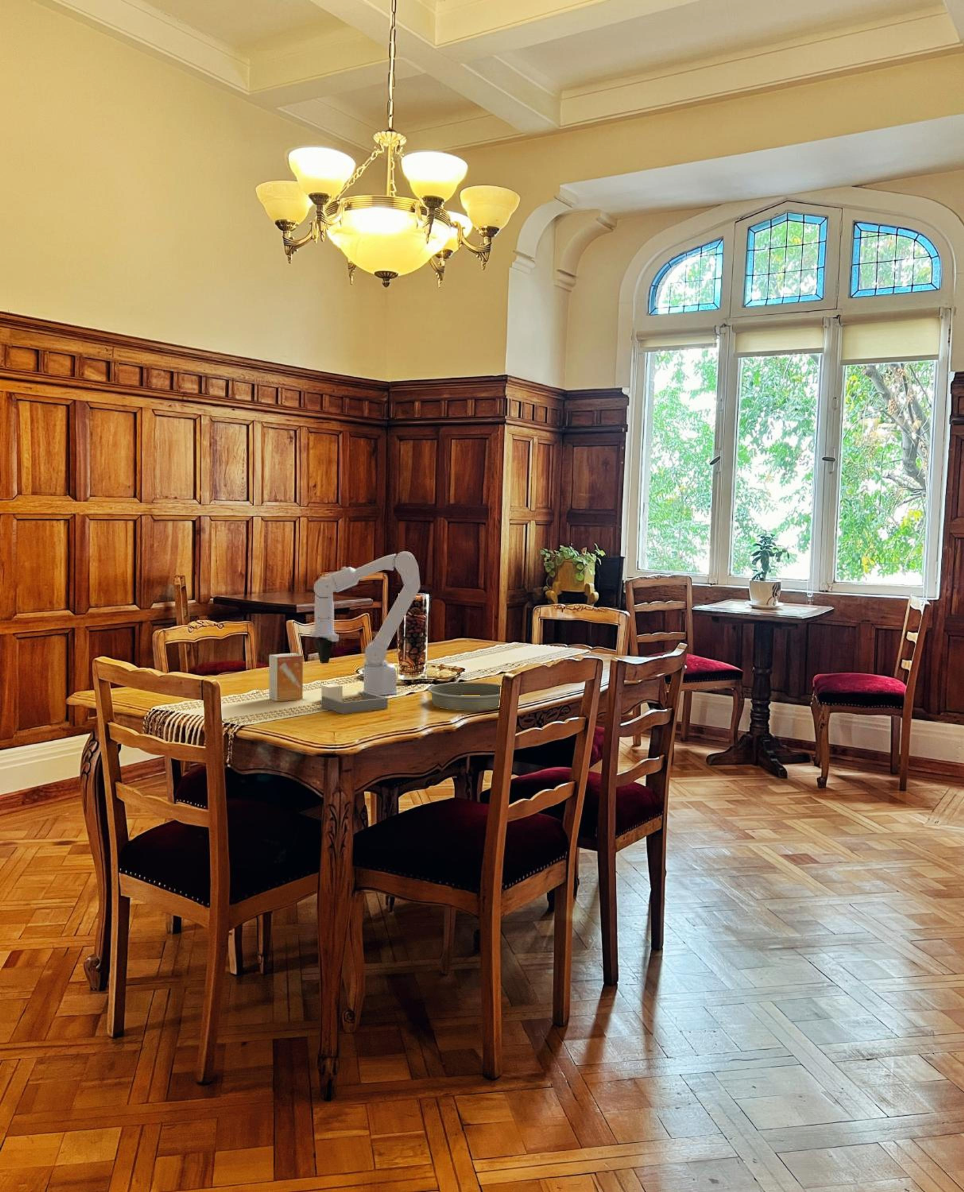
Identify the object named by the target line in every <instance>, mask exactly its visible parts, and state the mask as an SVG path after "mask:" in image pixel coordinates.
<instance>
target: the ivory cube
mask: <svg viewBox="0 0 964 1192" xmlns="http://www.w3.org/2000/svg"><path fill="white" fill-rule="evenodd" d="M320 688H321V692H320V693H321V701H322V696H327V697H330V698H333V699H336V700H339V701H342V702H344V701H343V696H344V695H343V685H342V684H337V683H329V684H321V687H320Z"/></svg>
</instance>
